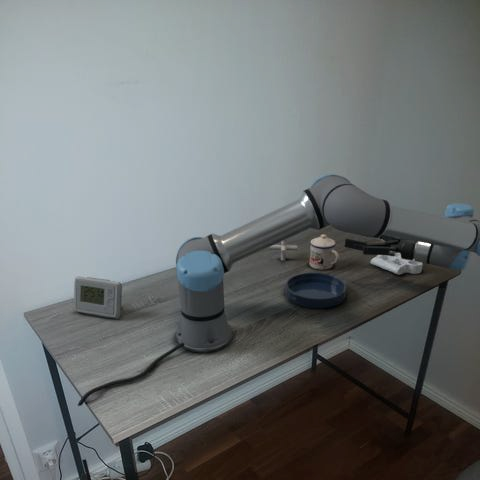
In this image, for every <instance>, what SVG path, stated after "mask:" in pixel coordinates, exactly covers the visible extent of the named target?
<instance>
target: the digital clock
mask: <svg viewBox="0 0 480 480" xmlns="http://www.w3.org/2000/svg"><path fill="white" fill-rule="evenodd" d="M73 283H74V285H73V287H74V289H73V310H74V311H75V312H76V313H80V314H84V315H88V316H92V317H93V316H94V317H100V318H105V319H110V318H111V319H119V318H120V317H121V315H122V295H123V284H122V282H120V281H113V280H111V279H104V278H97V277H90V276H87V277H86V276H78V275H77V276H75V277H74V282H73Z"/></svg>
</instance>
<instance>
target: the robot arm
mask: <svg viewBox="0 0 480 480" xmlns="http://www.w3.org/2000/svg"><path fill="white" fill-rule="evenodd" d="M474 211H475V209H474V207H473V206H472V205H470V204H467V203H459V202H458V203H451V204H448V205H447V206H446V208H445V212H444V215H443V216H442V215H438V214H434V213H429V212H424V211H419V210H416V209H415V210H414V209H409V208H405V207H399V206H395V205H392V204H391V203H390V201H388V200H387V199H382V198H378V197H376V196H373V195H371V194H370V193H367V192H366V191H364V190H363V189H361V188H359V187H358V186H357V185H355V184H353V183H352V182H351V181H350V180H349V179H348V178H346V177H344V176H341V175H338V174H336V173H335V174H334V173H331V174H330V173H329V174H325V175H321V176H320V177H318V178H317V179H315V181H313V182H312V184H311V186H310V187H308V188H306V189H303V190H302V191H301V192H300V195H299V197H298V198H297V199H296V200H294V201H292V202H290V203H288V204H285V205H283V206H281V207H279V208H276V209H274V210H273V211H270V212H268V213H266V214H264V215H262V216H260V217H258V218H256V219H253V220H251V221H249V222H247V223H244V224H243V225H240V226H237V227H236V228H234V229H232V230H230V231H228V232H225V233H223V234H221V235H220V234H217V233H210V234H208V235H205V236H203V237H202V236H192V237H190V238H188V239H186V240H184V241H183V242H182V243H181V244H180V246H179V248H178V250H177V252H176V257H175V265H176V279H177V284H178V294H179V295H178V296H179V305H180V306H179V307H180V317H179V321H178V324H177V328H176V333H175V334H176V335H175V336H176V342H177V344H178V345H175V347H172V349H169V350H168V351H167V352H165V353H163V354H162V355H160V356H158V357H157V358H156V359H155V360H153V361H152V363H150V364H149V365H148V366H147V368H146V369H144V370H143V371H142V372H141V373H139V374H137V375H135V376H131V377H127V378H121V379H117V380H113V381H109V382H107V383H104V384H102V385H100V386H97V387H94V388H92V389H90V390H88V391H87V392H86V393H84V395H83V396H82V397H81V398H80V400H79V402H78V404H77V406H78V407H81V406H82V405H83V404H84V403H85V402H86V400H87V399H88V398H89V397H90V396H92V395H93V394H95V393H97V392H100V391H102V390H105V389H107V388H110V387H114V386H117V385H121V384H127V383H130V382H134V381H137V380H139V379H141V378H143V377H145V376H146V375H147V374H148V373H149V372H150V371H151V370H152V369H153V368H154V367H155V366H156V365H157V364H158V363H160V362H161V361H163V360H164V359H165V358H167V357H168V356H170V355H172V354H173V353H175V352H176V351H178V350H180V349H183V350H185V351H188V352H190V353H191V352H192V353H198V354H203V353H204V354H205V353H206V354H207V353H212V352H216V351H219V350H222V349H224V348H225V347H227V346H228V345H229V344H230V342H231V341H232V339H233V331H232V327H231V324H230V321H229V317H228V316H227V315H226V311H225V291H224V287H225V286H224V274H226V273H229V272H230V271H231V269H232V267H233V265H234V264H236V263H237V262H240V261H242V260H244V259H247V258H249V257H251V256H253V255H255V254H258V253H259V252H261V251H264V250H265V249H268V248H270V246H272V245H278V244H279V243H281V241H283V240H285V239H286V240H287V239H289V238H292V237H294V236H296V235H299V234H300V233H303V232H305V231H307V230H310V229H313V230H315V231H320V230H322V229H324V228H327V227H329V226H331V227H332V228H334V229H335V230H338V231H339V232H344V233H348V234H352V235H359V236H362V237H368V238H373V239H378V240H382V241H383V242H375V243H373V242H372V243H367V241H360V240H355V239H350V238H345V242H344V248H348V249H352V250H357V251H361V252H362V255H364V256H365V255H366V256H377V255H388V256H395V253H400V254H401V258H402V259H407V260H413V259H414V260H415V261H417V262H422V264H423V265H425V264H426V265H432V266H436V267H440V268H445V269H448V270H454V271H464V270H465V269H466V268H467V267H468V263H469V261H470V258H471V253H475V254H476V255H477V256H479V257H480V220H478V219H477V218H475V217H474ZM81 460H82V465H83V469H84V472H85V476H86V480H92V475H91V473H90V469H89V466H88V462H87V459H86V458H84V459H81Z"/></svg>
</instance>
